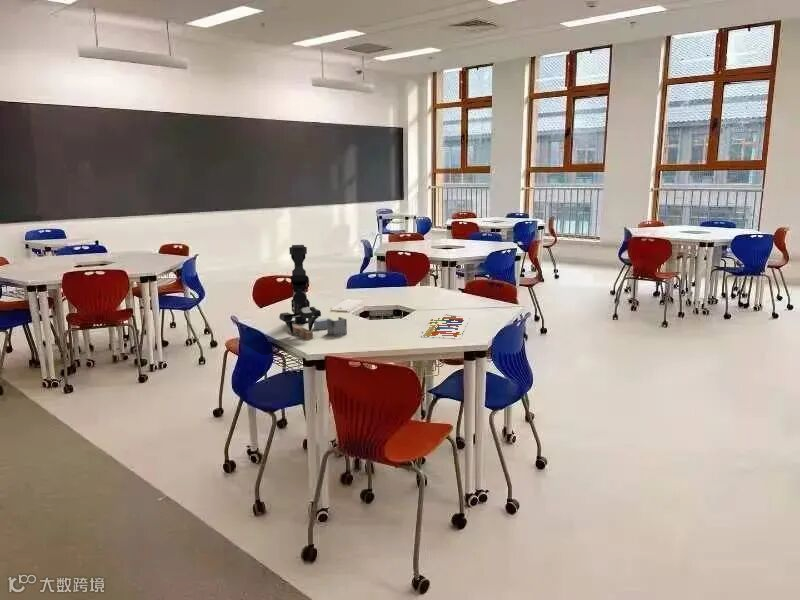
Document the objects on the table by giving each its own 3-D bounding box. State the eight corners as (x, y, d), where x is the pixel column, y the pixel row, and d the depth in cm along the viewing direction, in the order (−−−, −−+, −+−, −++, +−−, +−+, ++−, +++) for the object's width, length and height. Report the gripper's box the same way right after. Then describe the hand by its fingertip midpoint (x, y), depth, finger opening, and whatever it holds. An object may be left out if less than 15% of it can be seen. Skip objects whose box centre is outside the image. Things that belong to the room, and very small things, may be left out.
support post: (314, 328, 292) (313, 320, 291) (328, 325, 297) (328, 317, 296) (317, 329, 289) (317, 321, 288) (332, 327, 293) (332, 319, 293)
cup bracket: (327, 333, 282) (327, 318, 281) (340, 331, 286) (340, 317, 284) (333, 336, 277) (333, 321, 276) (346, 333, 281) (346, 319, 280)
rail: (289, 332, 285) (289, 325, 285) (295, 331, 287) (295, 324, 286) (307, 340, 271) (306, 332, 270) (312, 339, 273) (312, 331, 272)
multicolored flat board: (434, 312, 318) (470, 314, 314) (434, 316, 319) (470, 318, 315) (418, 332, 275) (460, 335, 271) (418, 337, 276) (460, 340, 271)
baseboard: (366, 302, 357) (346, 301, 359) (365, 297, 356) (346, 297, 358) (351, 313, 327) (330, 312, 329) (351, 308, 326) (330, 307, 329)
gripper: (288, 305, 264) (289, 339, 267) (326, 300, 275) (327, 333, 278) (278, 301, 273) (279, 334, 276) (315, 296, 284) (316, 328, 287)
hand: (301, 332), depth 279 cm, fingers open, 9 cm apart
